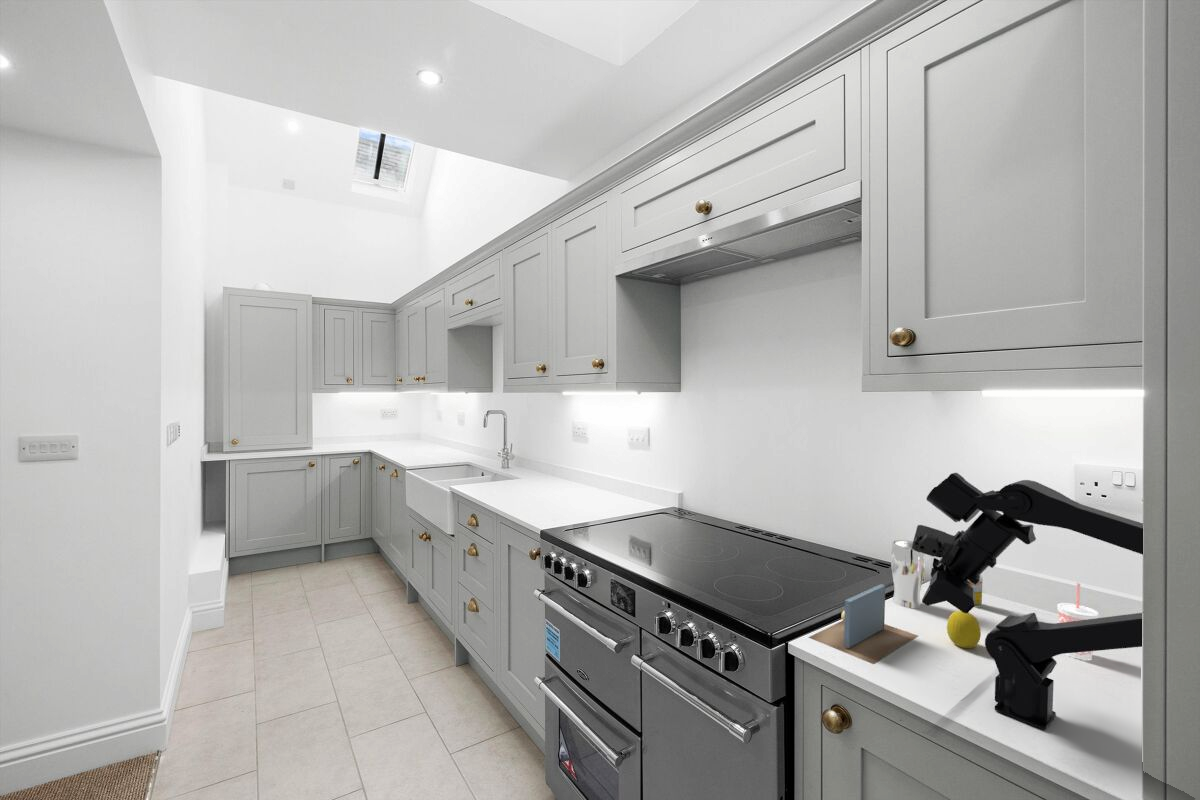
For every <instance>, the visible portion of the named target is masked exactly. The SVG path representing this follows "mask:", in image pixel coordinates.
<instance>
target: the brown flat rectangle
mask: <svg viewBox="0 0 1200 800" xmlns="http://www.w3.org/2000/svg"><path fill="white" fill-rule="evenodd" d="M918 637H919V635H918V634H914V633H912V632H908V631H906V630H903V629H900V628H898V627H895V626H891V625H888V624H885V623H884V629H882V630H880V631H878V632H877V633H875V634H873V635H871V636H870V637H868V638H866V639H864V640H862V641H861V642H859V643H857V644H855V645H854V646H852V647H850V648H847V647H845V646H844V620H841V621H839V622H837V623H835V624H833V625H831V626H829V627H827V628H825V629H823V630H820V631H819V632H818V631H817V632H816V633H815V634H813V635H810V636H808V638H809V639H811V640H813V641H815V642H818V643H821V644H823V645H826V646H828V647H831V648H833V649H835V650H837V651H841V652H843V653H845V654H847V655H850V656H853V657H855V658H857V659H859V660H862V661H864V662H868V663H869V664H873V665H875V664H876V663H878V662H880V661H881V660H883V659H884V658H886V657H888V655H891V654H893V653H894V652H895V651H897V650H898V649H900V648H902V647H903V646H905V645H907V644H908V643H909V642H911V641H912V640H915V639H916V638H918Z"/></svg>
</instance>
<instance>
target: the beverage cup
mask: <svg viewBox="0 0 1200 800" xmlns="http://www.w3.org/2000/svg"><path fill="white" fill-rule="evenodd" d="M1080 598H1081V583H1079V582H1077V583H1076V598H1075V599H1076V602H1075V603H1072V602H1071V603H1070V602H1069V603H1067V602H1060V603H1058V604H1056V607H1057V611H1058V620H1059V622H1058V623H1063V622H1071V621H1079V620H1087V619H1095V618H1100V613H1099V612H1098V611H1097V610H1096V609H1093V608H1091V607H1087V606H1084V605H1082V604H1081V605H1080V602H1081V601H1080V600H1081V599H1080ZM1093 653H1094V651H1088V652H1077V653H1066V655H1068V656H1067V657H1069V656H1071V657H1074V658H1078V659H1077V660H1079V659H1083V660H1082V661H1086V660H1085V659H1087V661H1089V660H1088V659H1091V658H1092V659H1093ZM1066 655H1065V656H1066ZM1071 657H1070V658H1071ZM1074 658H1073V659H1074ZM1092 659H1091V660H1092Z"/></svg>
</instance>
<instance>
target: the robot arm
mask: <svg viewBox="0 0 1200 800" xmlns="http://www.w3.org/2000/svg"><path fill="white" fill-rule="evenodd" d="M926 501H927V502H928V503H929V504H931V505H932V506H934V507H935V508H936V509H938V510H939V511H940V512H941V513H943V514H944V515H946V517H948V518H949V519H951V520H952V521H953V522H954V523H958V522H961V521H963V522H964V523H966V524H967V523H969V522H970V521H971V520H972V519H974V518H975V517H976V516H977V515H978V513H980V512H981V513H980V515H978V517H977V518H976V519H975V520H974V521H973V522H972V523H971V524H970V525H969V526H968V528H967V529H966V530H961V531H959V530H958V531H957V532H956V533H955V534H954V535H953V534H950V533H947V532H945V531H943V530H941V529H940V530H939V529H936V528H932V527H929V526H928V525H927V526H926V525H922V524H918V525H917V526H916V530H915V534H914V537H913V541H912V542H913V544H912V549H913V550H915V551H917V552H921V553H924V554H925V555H928V556H930V557H934V558H933V560H932V567H931V571H930V577H931V578H930V581H929V585H928V587H927V589H926V591H925V593H924V594H923V596H922V599H921V604H922V603H923V604H924V605H925V606H927V607H928V606H931V605H935V604H940V603H943V602H947V603H949V604H950V605H952V606H953V607H954V608H956V609H957V610H958V611H962V612H963V613H968V612H969V613H970V612H971V610H973V609H974V608H975V607H974V606H975V593H974V589H973V588H972V587H971V586H970V582H969V581H971V582H972V583H974V584H975V585H976V584H977V583H978V582H979V581H980V575H981V574H983V572H984V571H985V570H987V568H988V567H990V568H991V569H992V568H994V567H995V566H996V565H997V559H998V557H999V556H1000V555H1001V554H1003V552H1004V551H1005V550H1006V549H1007V548H1008V547H1009V546H1010V545H1012V543H1013V542H1014V541H1015V540H1016V539H1018V540H1020V541H1021V542H1023V543H1024V544H1025V545H1030V544H1032V543H1033V542H1036V540H1037V538H1036V536H1035V532H1034V525H1037V526H1038V525H1039V526H1046V527H1047V526H1048V527H1056V528H1061V529H1066V530H1070V531H1072V532H1076V533H1079V534H1082V535H1085V536H1087V537H1091V538H1093V539H1097V540H1099V541H1102V542H1104V543H1108V544H1109V545H1112V546H1113V545H1114V546H1117V547H1119V548H1122V549H1126V550H1128V551H1131V552H1134V553H1137V554H1139V555H1142V556H1144V555H1143V524H1144V523H1142V522H1140V521H1136V520H1133V519H1129V518H1127V517H1123V516H1120V515H1117V514H1113V513H1110V512H1107V511H1105V510H1102V509H1098V508H1095V507H1092V506H1090V505H1085V504H1081V503H1080V502H1078V501H1076V500H1073V499H1071V498H1070V497H1067V496H1066V495H1064V494H1062V493H1061V492H1060V491H1057V490H1055V489H1052V488H1050V487H1048V486H1046V485H1044V484H1042V483H1040V482H1037V481H1035V480H1030V479H1023V480H1018V481H1015V482H1012V483H1010V484H1007V485H1004V486H1003V487H1002V488H1001V489H1000V490H996V491H995V490H993V489H992V490H989V491H987V492H983V491H982V490H980V489H979V488H977V487H976V486H974V485H973V484H971V482H969V481H968V480H966V479H965V477H963V476H962V475H961V474H959V473H958V472H953V473H950V474H949V476H948V477H947V478H945V479H944V480H942V481H941V482H940V483H939V484H938V485H937V486H934V487H933V488H932V489H931V491H930V492H929V493H928V495H927V496H926ZM1021 522H1025V523H1029V524H1023V523H1021ZM1033 524H1034V525H1033ZM935 557H936V558H935ZM938 558H939V559H938ZM968 580H969V581H968ZM1142 613H1143V612H1137V613H1129V614H1121V615H1112V616H1105V617H1099V618H1095V619H1087V620H1079V621H1071V622H1063V623H1059V622H1058V623H1057V622H1056V623H1052V622H1044V621H1039V620H1038V617H1037V614H1036V612H1030V613H1028V614H1024V615H1021V616H1020V615H1019V616H1017V615H1016V616H1015V615H1007V617H1005V618H1004V619H1003V620H1001V621H1000V622H999V623H998V624H996V626H995V628H993V629H992V630H991V631H990V632H989V633H987V634H986V637H985V639H984V645H985V650H986V652H987V653H988V654H989V656H990V657H991V658H992V659H993V660H994V662H995V665H996V668H997V671H998V674H997V675H996V676H995V680H994V701H995V703H996V704H995V706H994V711H996V712H998V713H1001V714H1003V715H1006V716H1008V717H1010V718H1014V719H1015V720H1018V721H1021V722H1023V723H1025V724H1027V725H1030V726H1033V727H1035V728H1038V729H1040V730H1045V731H1046V729H1047V728H1048V727H1049V726H1050V724H1051V723H1052V722H1053V720H1054V719H1055V717H1057V713H1056V711H1054V710H1053V707H1054V705H1053V704H1054V685H1055V684H1054V683H1055V682H1054V679H1052V678H1049V677H1048V676H1049V675H1050V674H1051V673H1053V670H1054V669H1055V667H1056V665H1057V663H1058V661H1056V660H1055V659H1054V657H1056V656H1059V655H1064V654H1066V653H1077V652H1088V651H1093V652H1096V651H1106V650H1107V651H1109V650H1120V649H1130V648H1140V647H1142Z"/></svg>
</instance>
